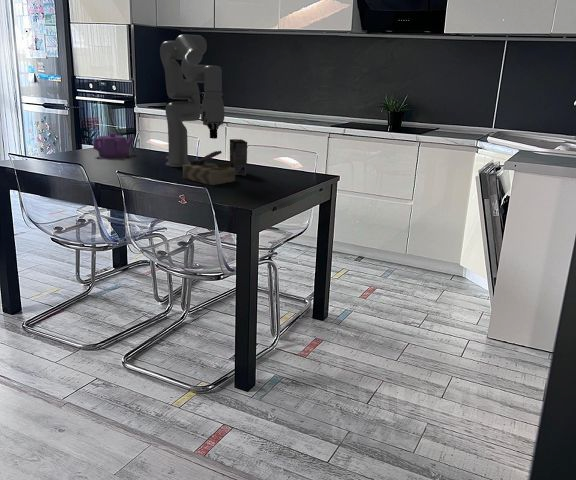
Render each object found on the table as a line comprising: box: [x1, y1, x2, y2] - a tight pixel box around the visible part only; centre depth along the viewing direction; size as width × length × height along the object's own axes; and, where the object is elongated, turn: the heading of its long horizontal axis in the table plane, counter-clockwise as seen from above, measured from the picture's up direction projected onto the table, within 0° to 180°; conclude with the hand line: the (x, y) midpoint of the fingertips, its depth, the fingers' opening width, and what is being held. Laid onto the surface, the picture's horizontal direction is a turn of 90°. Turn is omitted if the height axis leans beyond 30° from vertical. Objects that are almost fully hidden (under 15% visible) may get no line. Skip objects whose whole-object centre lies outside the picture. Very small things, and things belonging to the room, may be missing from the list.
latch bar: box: [195, 150, 223, 164], centre depth 252 cm, size 16×4×1 cm, turn 48°
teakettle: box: [93, 132, 134, 159], centre depth 304 cm, size 17×17×12 cm
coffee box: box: [229, 138, 248, 176], centre depth 268 cm, size 9×6×16 cm
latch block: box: [182, 160, 236, 186], centre depth 253 cm, size 20×14×8 cm
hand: (213, 138), depth 247 cm, fingers closed
